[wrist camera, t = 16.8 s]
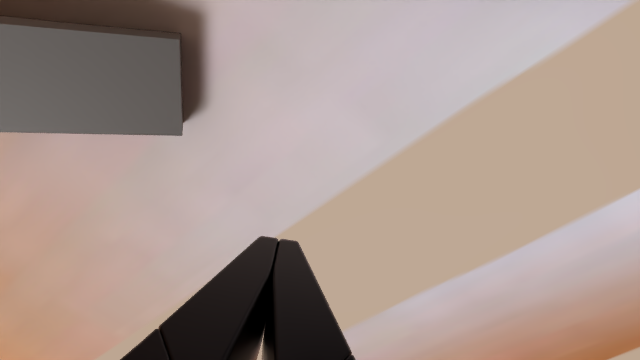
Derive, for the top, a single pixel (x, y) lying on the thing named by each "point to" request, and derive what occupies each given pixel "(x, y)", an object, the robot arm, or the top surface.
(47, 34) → the gray rectangular block
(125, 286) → the top surface
